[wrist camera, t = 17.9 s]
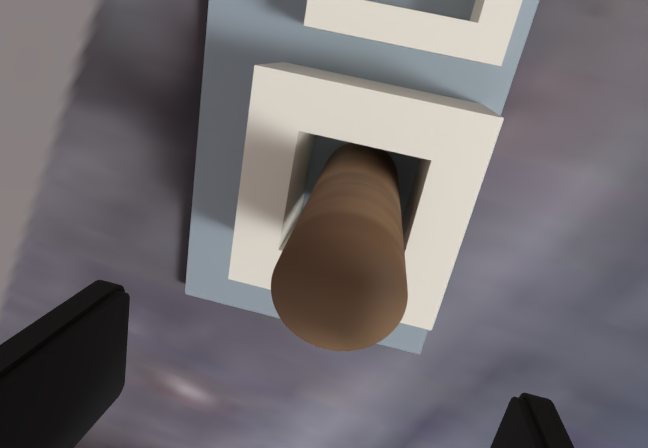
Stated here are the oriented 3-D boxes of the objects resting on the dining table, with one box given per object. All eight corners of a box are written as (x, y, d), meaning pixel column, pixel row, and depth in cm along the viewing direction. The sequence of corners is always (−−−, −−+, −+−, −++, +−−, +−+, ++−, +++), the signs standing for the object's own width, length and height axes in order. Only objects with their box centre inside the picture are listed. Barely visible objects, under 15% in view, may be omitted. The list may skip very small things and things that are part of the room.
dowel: (392, 217, 25) (397, 359, 14) (320, 209, 25) (268, 340, 14) (403, 145, 23) (418, 240, 12) (326, 137, 24) (273, 222, 12)
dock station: (419, 344, 28) (423, 415, 23) (191, 286, 30) (143, 340, 24) (580, -139, 19) (654, -218, 13) (234, -198, 20) (170, -292, 14)
